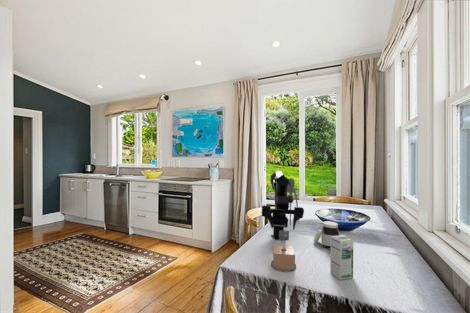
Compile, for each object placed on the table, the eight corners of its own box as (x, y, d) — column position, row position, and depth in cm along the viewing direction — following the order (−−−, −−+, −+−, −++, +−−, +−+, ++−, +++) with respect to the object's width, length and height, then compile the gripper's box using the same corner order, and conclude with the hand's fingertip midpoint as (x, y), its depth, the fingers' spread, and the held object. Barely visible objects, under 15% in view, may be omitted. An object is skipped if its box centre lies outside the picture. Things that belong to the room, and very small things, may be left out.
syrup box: (340, 280, 83) (341, 240, 83) (329, 272, 89) (330, 235, 89) (353, 278, 85) (354, 239, 85) (341, 270, 91) (342, 234, 90)
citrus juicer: (281, 220, 160) (282, 177, 159) (294, 219, 163) (294, 177, 162) (290, 225, 149) (290, 179, 149) (303, 224, 152) (304, 178, 152)
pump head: (278, 248, 96) (278, 229, 96) (288, 249, 96) (288, 230, 96) (279, 255, 90) (279, 234, 90) (289, 255, 89) (290, 235, 89)
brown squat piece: (270, 259, 100) (271, 244, 99) (294, 260, 98) (294, 246, 98) (271, 270, 90) (271, 254, 90) (297, 272, 88) (298, 256, 88)
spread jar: (340, 251, 109) (341, 226, 109) (315, 248, 112) (316, 225, 111) (334, 241, 121) (335, 219, 121) (312, 240, 123) (312, 218, 123)
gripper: (262, 188, 106) (261, 218, 95) (303, 189, 104) (307, 220, 93) (262, 201, 114) (261, 230, 103) (300, 203, 112) (304, 233, 101)
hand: (283, 228), depth 100 cm, fingers open, 9 cm apart
